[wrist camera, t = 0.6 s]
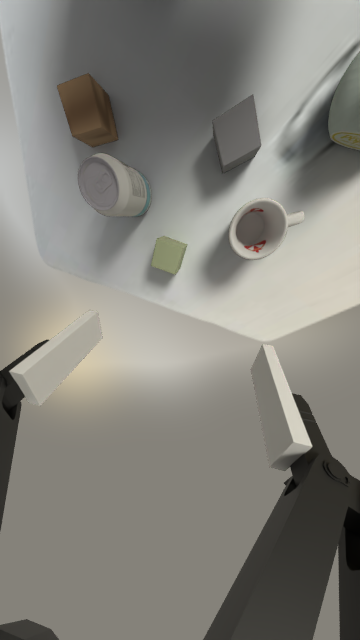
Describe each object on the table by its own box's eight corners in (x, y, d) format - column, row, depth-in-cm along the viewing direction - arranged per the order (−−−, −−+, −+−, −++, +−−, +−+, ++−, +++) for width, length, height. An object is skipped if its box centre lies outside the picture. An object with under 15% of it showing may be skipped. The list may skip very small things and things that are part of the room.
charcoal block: (213, 135, 27) (212, 120, 23) (247, 114, 25) (253, 94, 21) (222, 173, 29) (223, 166, 25) (254, 156, 27) (261, 145, 23)
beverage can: (110, 190, 33) (62, 178, 23) (136, 160, 30) (95, 132, 20) (134, 224, 35) (100, 227, 25) (160, 200, 32) (134, 192, 22)
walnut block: (81, 105, 28) (56, 85, 24) (108, 95, 27) (88, 73, 23) (92, 147, 31) (72, 136, 26) (118, 140, 29) (101, 126, 25)
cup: (291, 188, 28) (314, 179, 22) (291, 240, 32) (311, 246, 25) (223, 211, 32) (224, 209, 25) (230, 256, 35) (233, 265, 28)
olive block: (164, 235, 36) (156, 238, 31) (187, 244, 36) (183, 248, 31) (158, 260, 38) (150, 265, 34) (180, 268, 38) (175, 274, 34)
